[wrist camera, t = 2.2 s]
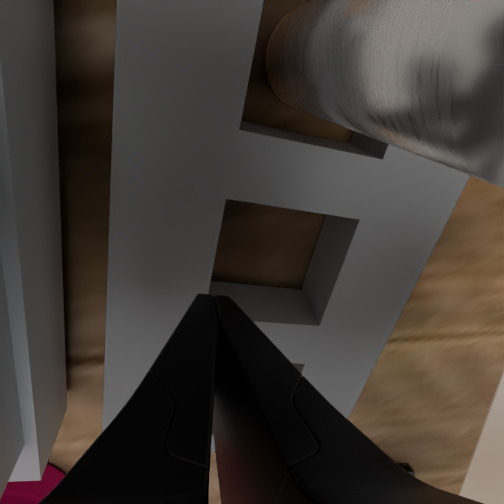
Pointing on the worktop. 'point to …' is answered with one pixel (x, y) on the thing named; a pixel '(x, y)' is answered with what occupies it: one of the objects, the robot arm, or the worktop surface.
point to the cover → (29, 244)
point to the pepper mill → (32, 488)
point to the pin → (400, 74)
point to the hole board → (254, 191)
